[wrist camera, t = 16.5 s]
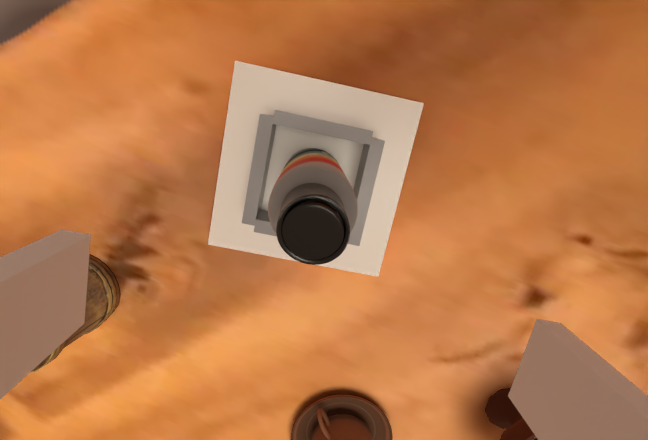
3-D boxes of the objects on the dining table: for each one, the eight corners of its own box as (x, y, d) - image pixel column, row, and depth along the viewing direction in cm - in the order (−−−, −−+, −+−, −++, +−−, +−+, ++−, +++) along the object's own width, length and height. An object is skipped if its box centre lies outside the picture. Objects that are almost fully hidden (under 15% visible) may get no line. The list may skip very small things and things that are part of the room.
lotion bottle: (351, 162, 39) (389, 207, 20) (326, 213, 40) (339, 302, 21) (298, 137, 38) (284, 157, 19) (274, 190, 40) (238, 259, 20)
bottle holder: (419, 103, 39) (436, 101, 34) (376, 271, 44) (385, 292, 38) (238, 62, 38) (225, 53, 33) (211, 240, 42) (196, 257, 37)
